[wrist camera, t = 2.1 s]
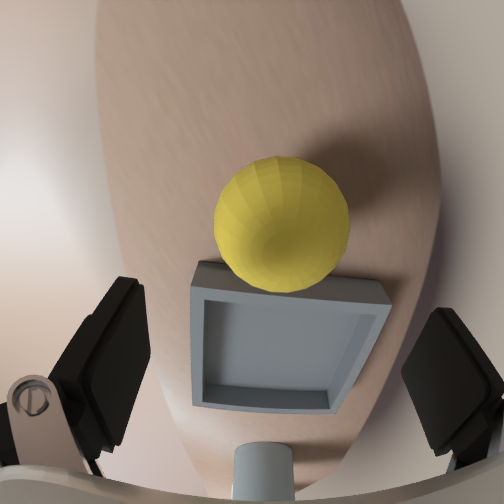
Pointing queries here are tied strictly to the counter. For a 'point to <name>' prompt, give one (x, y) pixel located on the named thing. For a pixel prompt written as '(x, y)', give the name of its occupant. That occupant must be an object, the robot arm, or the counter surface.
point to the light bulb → (281, 224)
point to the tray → (280, 341)
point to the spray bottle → (263, 472)
